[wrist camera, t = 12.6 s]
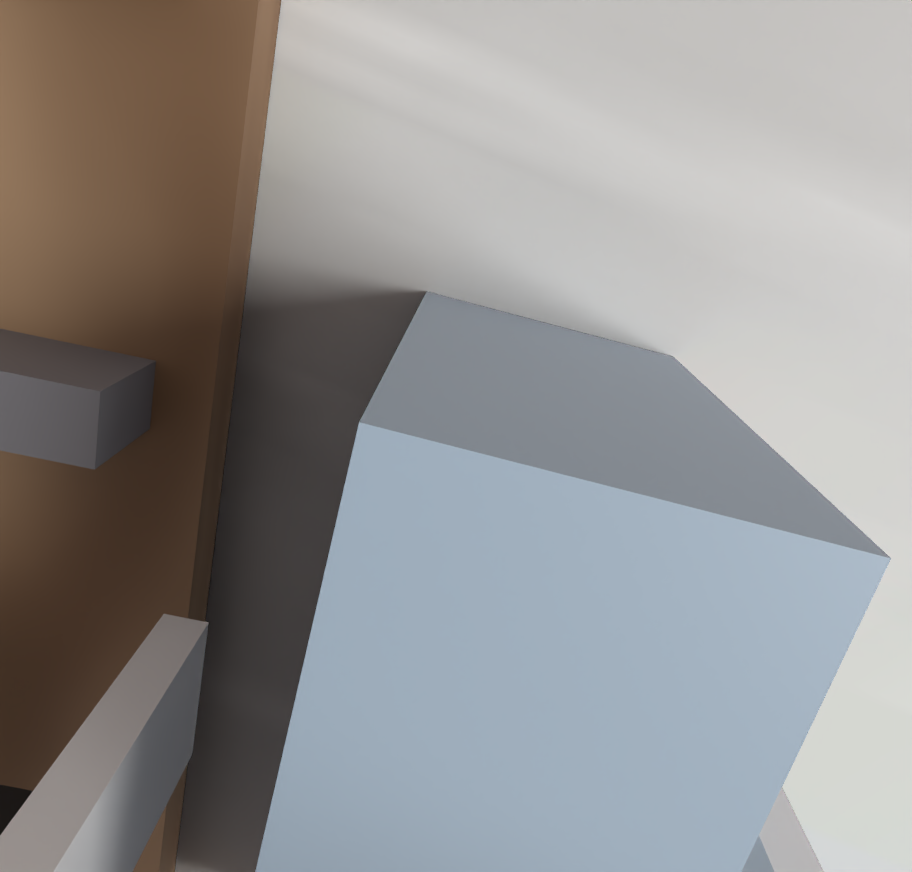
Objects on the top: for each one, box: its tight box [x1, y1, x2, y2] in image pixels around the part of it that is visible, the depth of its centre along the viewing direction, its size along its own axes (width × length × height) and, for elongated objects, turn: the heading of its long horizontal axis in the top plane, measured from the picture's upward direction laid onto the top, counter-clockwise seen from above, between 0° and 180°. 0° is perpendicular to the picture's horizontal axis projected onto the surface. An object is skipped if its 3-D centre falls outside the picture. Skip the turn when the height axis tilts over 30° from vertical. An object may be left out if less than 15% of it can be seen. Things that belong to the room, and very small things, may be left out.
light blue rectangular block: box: [255, 292, 891, 872], centre depth 12 cm, size 14×4×8 cm, turn 166°
